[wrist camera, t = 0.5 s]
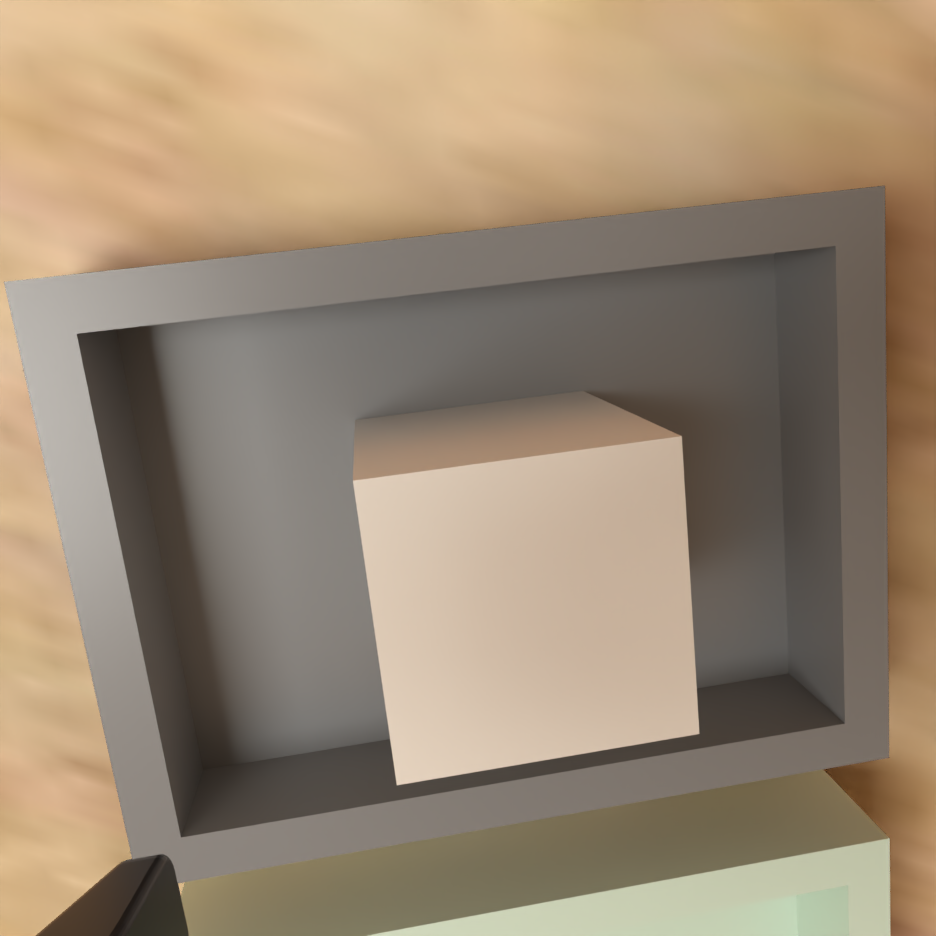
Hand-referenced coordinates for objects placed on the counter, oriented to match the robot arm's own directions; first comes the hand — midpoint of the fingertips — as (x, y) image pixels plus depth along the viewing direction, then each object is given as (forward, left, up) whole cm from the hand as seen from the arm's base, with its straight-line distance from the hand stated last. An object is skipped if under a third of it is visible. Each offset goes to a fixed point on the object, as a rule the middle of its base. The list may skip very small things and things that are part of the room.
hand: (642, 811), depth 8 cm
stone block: (0, 0, -11) cm, 11 cm away
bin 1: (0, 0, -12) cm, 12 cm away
